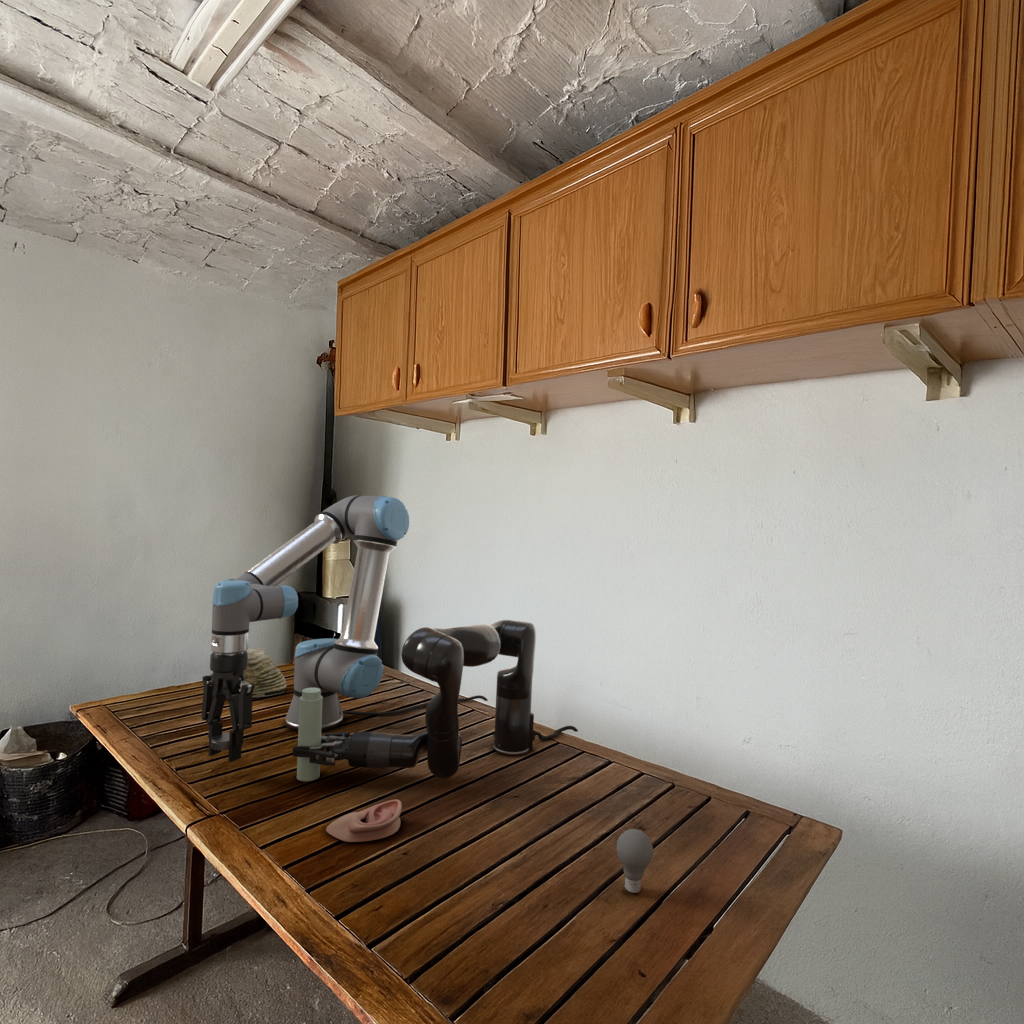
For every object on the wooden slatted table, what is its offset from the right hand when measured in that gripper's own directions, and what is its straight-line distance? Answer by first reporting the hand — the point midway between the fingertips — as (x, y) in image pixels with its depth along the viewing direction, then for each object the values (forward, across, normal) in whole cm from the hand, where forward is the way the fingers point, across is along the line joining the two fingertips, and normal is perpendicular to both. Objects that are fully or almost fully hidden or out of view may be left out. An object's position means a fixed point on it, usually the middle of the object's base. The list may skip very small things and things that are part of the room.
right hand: (297, 746), depth 143 cm
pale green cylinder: (-3, 0, +7) cm, 7 cm away
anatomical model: (-20, +21, +7) cm, 30 cm away
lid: (+15, +4, -2) cm, 15 cm away
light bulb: (-69, +37, +7) cm, 79 cm away
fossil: (+32, -55, +7) cm, 64 cm away
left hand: (+15, +4, +2) cm, 15 cm away
